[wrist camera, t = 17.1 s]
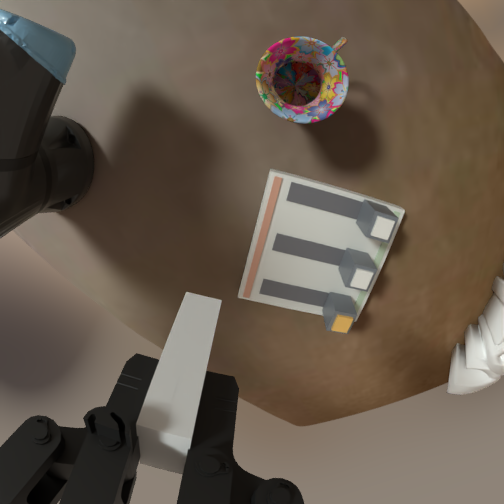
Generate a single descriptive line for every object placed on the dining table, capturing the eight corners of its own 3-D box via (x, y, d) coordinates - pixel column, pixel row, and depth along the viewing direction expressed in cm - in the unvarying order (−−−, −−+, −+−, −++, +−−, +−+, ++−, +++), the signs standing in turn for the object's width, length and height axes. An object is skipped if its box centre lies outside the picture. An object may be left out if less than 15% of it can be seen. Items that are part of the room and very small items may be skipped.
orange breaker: (321, 310, 49) (326, 332, 44) (329, 291, 48) (335, 312, 43) (342, 314, 49) (348, 336, 44) (350, 296, 48) (358, 317, 43)
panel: (238, 291, 51) (234, 319, 44) (270, 168, 42) (270, 180, 36) (353, 315, 52) (363, 343, 45) (400, 206, 43) (420, 224, 37)
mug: (296, 133, 40) (305, 142, 31) (244, 87, 38) (236, 81, 28) (357, 74, 36) (383, 66, 26) (305, 27, 34) (317, 4, 24)
